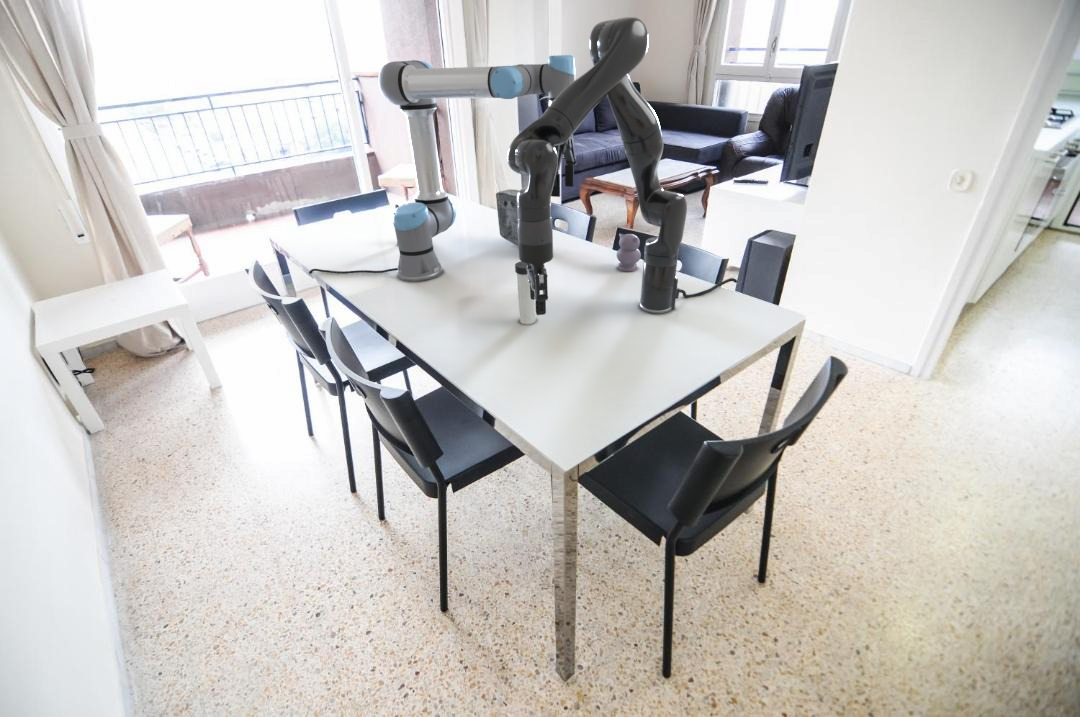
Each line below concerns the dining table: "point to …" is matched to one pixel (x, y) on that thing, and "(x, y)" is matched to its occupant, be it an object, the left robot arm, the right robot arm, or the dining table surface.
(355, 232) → the dining table surface
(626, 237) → the cat figurine
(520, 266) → the lid
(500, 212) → the concrete block
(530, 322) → the cylinder
